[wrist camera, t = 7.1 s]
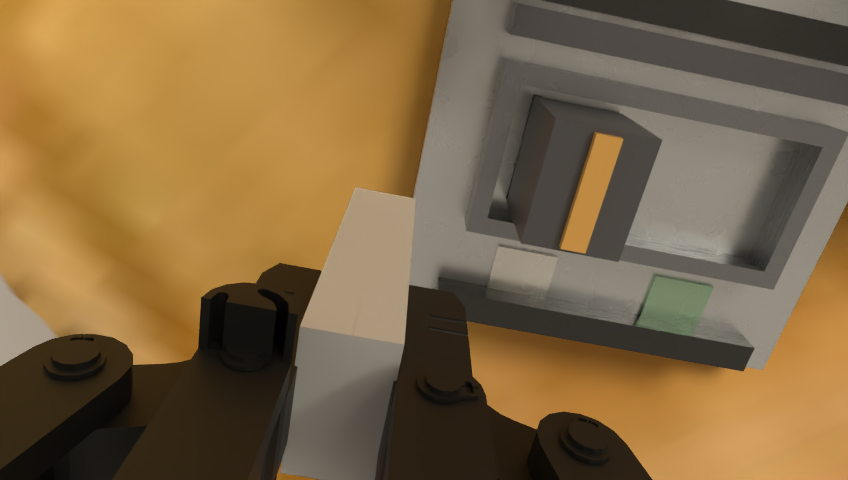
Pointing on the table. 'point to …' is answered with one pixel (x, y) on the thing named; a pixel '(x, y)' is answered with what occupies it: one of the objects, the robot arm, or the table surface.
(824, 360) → the table surface
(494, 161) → the breaker panel
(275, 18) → the table surface
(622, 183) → the breaker toggle
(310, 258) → the table surface
